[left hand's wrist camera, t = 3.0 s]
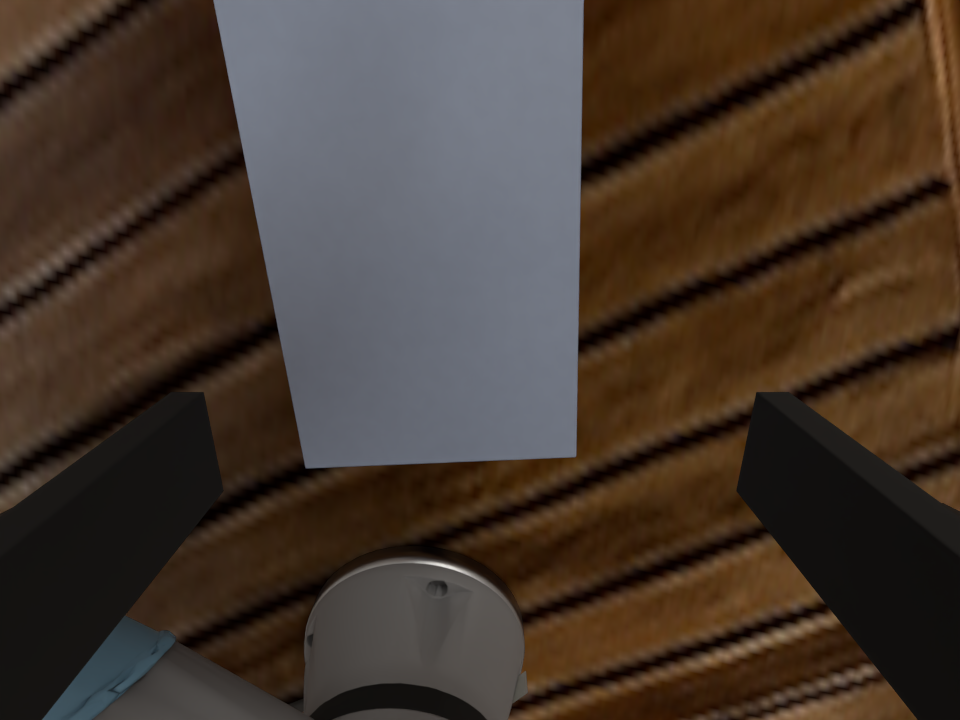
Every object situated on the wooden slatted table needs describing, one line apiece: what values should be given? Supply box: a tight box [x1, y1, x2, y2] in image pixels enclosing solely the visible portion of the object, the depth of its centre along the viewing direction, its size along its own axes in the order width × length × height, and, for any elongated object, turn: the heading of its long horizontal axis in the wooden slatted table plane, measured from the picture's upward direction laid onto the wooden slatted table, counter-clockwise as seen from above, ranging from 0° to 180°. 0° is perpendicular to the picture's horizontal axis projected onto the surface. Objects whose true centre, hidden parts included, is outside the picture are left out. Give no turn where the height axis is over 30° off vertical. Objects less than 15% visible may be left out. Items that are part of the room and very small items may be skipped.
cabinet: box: [214, 0, 584, 468], centre depth 22 cm, size 17×10×11 cm, turn 3°
